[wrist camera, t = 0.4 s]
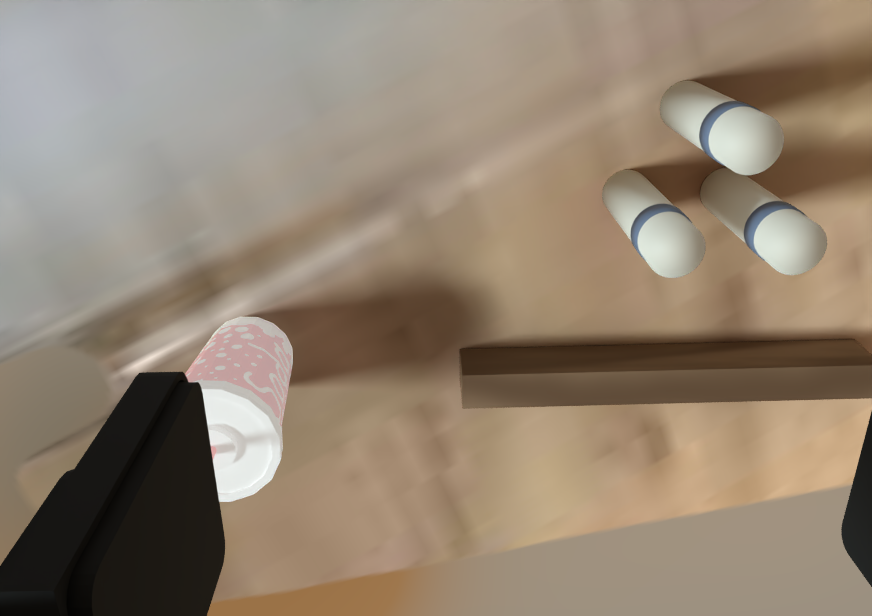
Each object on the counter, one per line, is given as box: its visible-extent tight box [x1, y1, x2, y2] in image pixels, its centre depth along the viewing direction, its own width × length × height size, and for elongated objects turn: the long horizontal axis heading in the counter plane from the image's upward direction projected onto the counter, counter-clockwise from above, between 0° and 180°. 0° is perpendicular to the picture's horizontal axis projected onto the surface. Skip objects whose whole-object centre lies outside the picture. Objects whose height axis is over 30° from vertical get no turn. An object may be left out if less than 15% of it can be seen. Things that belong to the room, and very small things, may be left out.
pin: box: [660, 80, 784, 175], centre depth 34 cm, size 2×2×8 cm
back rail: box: [460, 339, 872, 409], centre depth 42 cm, size 2×22×3 cm, turn 91°
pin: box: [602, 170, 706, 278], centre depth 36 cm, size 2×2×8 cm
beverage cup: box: [185, 317, 293, 502], centre depth 37 cm, size 6×6×14 cm
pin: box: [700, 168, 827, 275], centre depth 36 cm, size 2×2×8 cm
